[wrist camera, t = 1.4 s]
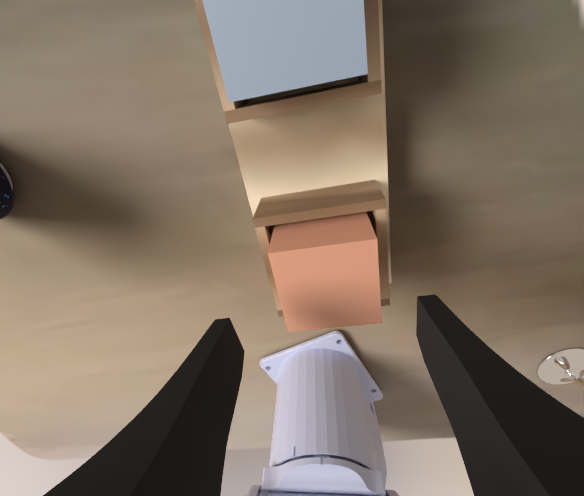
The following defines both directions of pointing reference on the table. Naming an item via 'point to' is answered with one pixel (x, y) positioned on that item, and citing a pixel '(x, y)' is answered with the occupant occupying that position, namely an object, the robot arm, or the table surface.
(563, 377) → the wineglass
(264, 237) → the wooden socket board
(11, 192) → the beverage can
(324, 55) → the slate key
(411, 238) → the table surface
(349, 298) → the terracotta key
